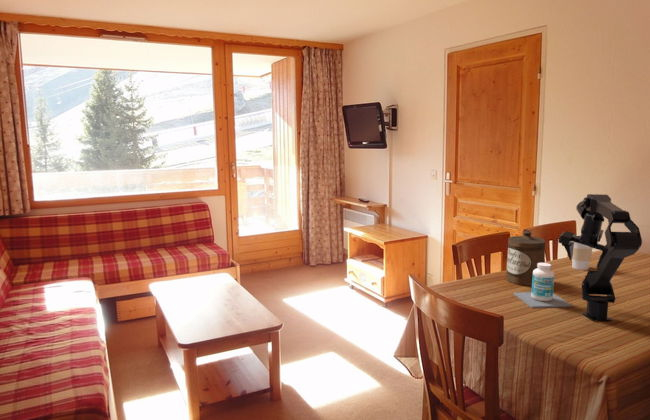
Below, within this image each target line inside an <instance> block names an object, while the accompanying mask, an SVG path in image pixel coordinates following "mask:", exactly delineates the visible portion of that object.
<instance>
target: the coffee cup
mask: <svg viewBox="0 0 650 420" xmlns="http://www.w3.org/2000/svg"><path fill="white" fill-rule="evenodd" d="M575 237H576V238H579V239H580V237H581V235H575ZM592 253H593V248H591V247H588V246H584V245H581V244H577V243H574V248H573V257H572V260H571V261H572V262H571V264H572V265H571V268H572V269H576V270H582V271H583V270H585V271H587V270H589V268H590V262H591V258H592Z"/></svg>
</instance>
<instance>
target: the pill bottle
mask: <svg viewBox="0 0 650 420" xmlns="http://www.w3.org/2000/svg"><path fill="white" fill-rule="evenodd" d="M537 267H538V268H537V269H535V270H534V271H533V278H532V286H531V291H530V292H531V297H532V298H533V299H535V300H538V301H551V300H552V298H553V294H554V288H555V287H554V286H555V272H554V271H553V270H552V264H550V263H548V262H545V263H538V265H537Z"/></svg>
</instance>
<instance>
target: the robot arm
mask: <svg viewBox="0 0 650 420" xmlns="http://www.w3.org/2000/svg"><path fill="white" fill-rule="evenodd" d="M576 211H577V213H578V214H579V216H580V217H581V219H582V220H583V224H582V226H581V229H580V236H581V237H580V239H579V238H576V237H575V236H576V233H575V232H571V231H566V230H565V231H563V232H562V233H561V234H560V235H559V237H558V240H557V241H558V244H561V246H562V247H564V249H565V251H566V252H567V253H566V254H567V256H568V259H569V261H572V257H573V248H574V243H577V244H581V245H584V246H588V247H591V248H592V249H595V250H599V251H602V252H601V254H600V256H599V258H598V261H597V265H596V270H588V271H587V273H586V275H585V276H584V279H583V280H582V281H581V282H582V283H581V284H580V285H581V295H582V296H581V297H582V301H586V302H587V303H586V312H582V315H583V316H584V317H586V318H588V319H589V320H591V321H593V322H599V321H601V322H602V321H603V322H605V321H608V322H609V321H610V322H611V321H612V318H611V317H609V316H608V310H609V303H612V304H614V303H615V301H616V296H615V293H614V291H615V290H614V287H613V284H612V278H613V277H614V275H616V273H617V271H618V269H619V268H620V266H621V265H622V263H623V262H624V260H625V259H626V258H628V257H630V256H633V255H635V254H636V253H637V252H638V251H639V250H640V248H642V244H643V239H642V235H641V231H640V228H639V226H638V225H637V224H636V223H635V222H634V221H633V220H632V219H631V215H630V212H629V211H627V210H624V209H622V208H621V207H619V206H617V205H616V204H614V203H612V198H611V197H610V196H609V195H608V194H598V193H597V194H591V193H590V194H589V193H588V194H586V197H583V200H581V201H580V202H578V204H577V205H576ZM605 219H607V222H608V225H607V227H606V229H605V230H604V229H602V226H603V222H605ZM613 224H624V227H626V229H627V230H628V231H612V225H613ZM603 234H604V236H605V241H606V244H605V245H603V244H600V241H601V239H602V237H603Z"/></svg>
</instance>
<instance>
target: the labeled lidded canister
mask: <svg viewBox="0 0 650 420" xmlns="http://www.w3.org/2000/svg"><path fill="white" fill-rule="evenodd" d="M531 235H532V231H531V230H527V229H525V230H523V231H522V235H515V236H509V237H508V240H507V257H506V258H507V259H506V273H505V274H506V278H505V279H506V281H507V282H510V283H512V284H515V285H518V286H519V285H520V286H527V287H529V286H530V287H532V278H533V271H534V270H535V269H537V268H538V267H537V265H538V263H546V258H545V257H546V240H545V239H543V238H541V237H537V236H531Z"/></svg>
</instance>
